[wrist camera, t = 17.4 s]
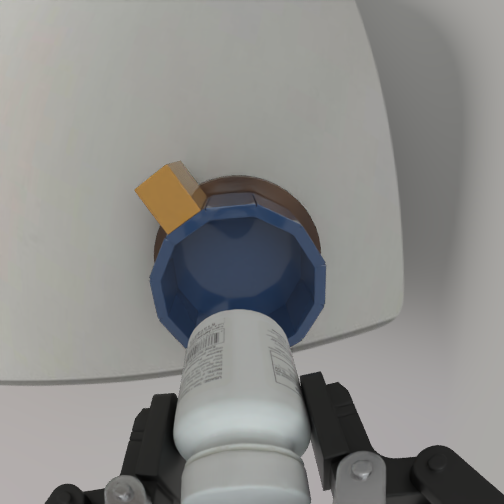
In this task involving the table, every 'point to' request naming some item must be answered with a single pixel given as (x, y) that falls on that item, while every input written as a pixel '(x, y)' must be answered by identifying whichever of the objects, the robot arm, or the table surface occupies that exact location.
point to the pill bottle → (241, 414)
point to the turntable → (261, 188)
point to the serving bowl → (229, 257)
